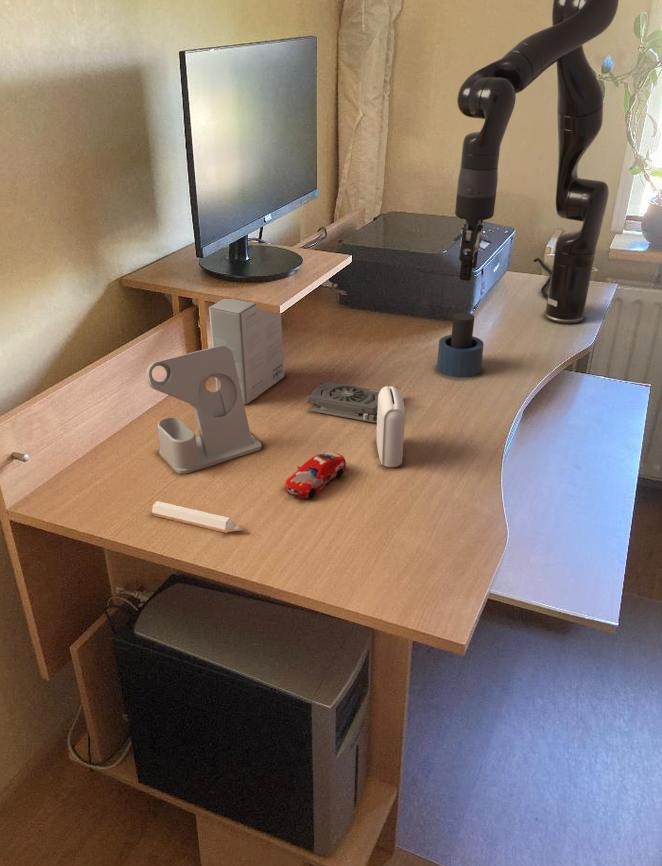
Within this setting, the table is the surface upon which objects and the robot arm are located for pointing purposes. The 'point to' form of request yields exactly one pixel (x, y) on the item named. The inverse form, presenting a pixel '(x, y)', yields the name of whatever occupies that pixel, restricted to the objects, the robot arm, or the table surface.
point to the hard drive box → (249, 344)
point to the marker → (194, 517)
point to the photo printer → (390, 426)
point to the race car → (315, 474)
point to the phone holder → (203, 411)
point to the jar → (459, 358)
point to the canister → (462, 330)
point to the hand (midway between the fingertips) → (468, 273)
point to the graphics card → (345, 401)
